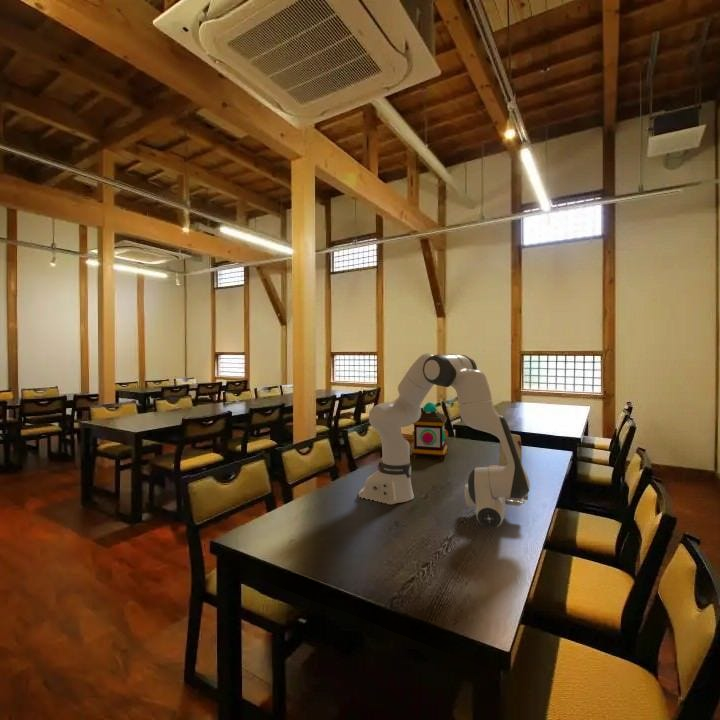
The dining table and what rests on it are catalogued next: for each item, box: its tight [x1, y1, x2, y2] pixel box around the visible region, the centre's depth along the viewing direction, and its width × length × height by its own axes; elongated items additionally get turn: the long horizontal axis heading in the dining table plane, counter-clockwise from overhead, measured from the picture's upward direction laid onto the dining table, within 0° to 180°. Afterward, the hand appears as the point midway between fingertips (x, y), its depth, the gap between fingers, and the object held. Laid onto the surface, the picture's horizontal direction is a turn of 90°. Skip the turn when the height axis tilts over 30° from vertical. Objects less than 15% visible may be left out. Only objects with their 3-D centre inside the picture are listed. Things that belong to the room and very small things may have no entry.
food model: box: [498, 433, 523, 467], centre depth 188 cm, size 10×7×20 cm
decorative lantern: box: [411, 401, 449, 462], centre depth 224 cm, size 20×20×30 cm
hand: (494, 486), depth 152 cm, fingers open, 8 cm apart
